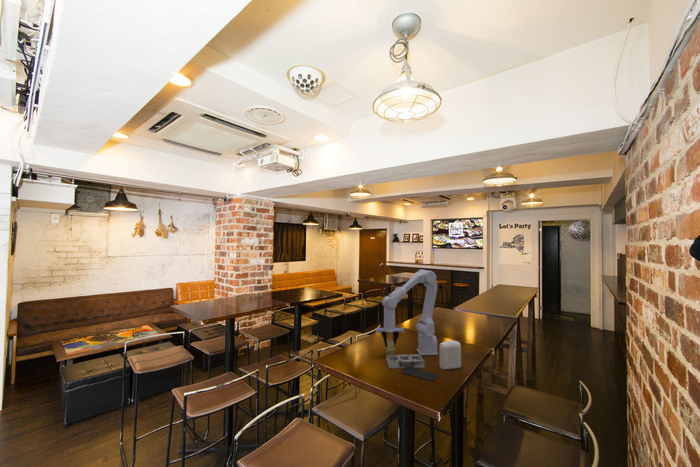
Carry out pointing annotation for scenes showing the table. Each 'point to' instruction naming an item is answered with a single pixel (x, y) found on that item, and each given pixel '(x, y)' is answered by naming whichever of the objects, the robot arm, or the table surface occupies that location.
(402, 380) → the table surface
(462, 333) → the table surface
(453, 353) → the photo printer
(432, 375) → the phone
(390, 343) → the tan block with hole
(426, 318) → the robot arm
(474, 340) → the table surface
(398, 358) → the slotted metal bracket
